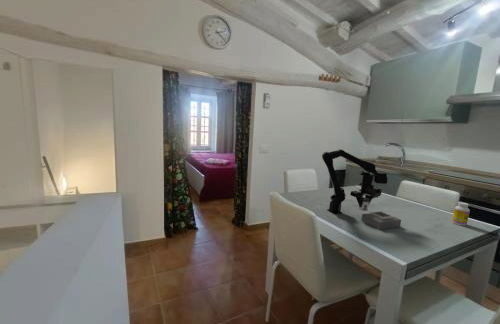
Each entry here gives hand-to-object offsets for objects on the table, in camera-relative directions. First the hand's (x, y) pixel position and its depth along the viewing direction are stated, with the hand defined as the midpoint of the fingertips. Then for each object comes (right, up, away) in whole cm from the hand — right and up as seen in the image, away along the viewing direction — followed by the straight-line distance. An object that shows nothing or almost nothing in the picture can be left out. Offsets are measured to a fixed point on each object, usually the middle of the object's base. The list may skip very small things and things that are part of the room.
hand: (363, 206), depth 143 cm
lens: (0, -2, 0) cm, 2 cm away
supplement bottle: (+55, -9, -5) cm, 56 cm away
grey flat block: (+4, -7, -11) cm, 14 cm away
